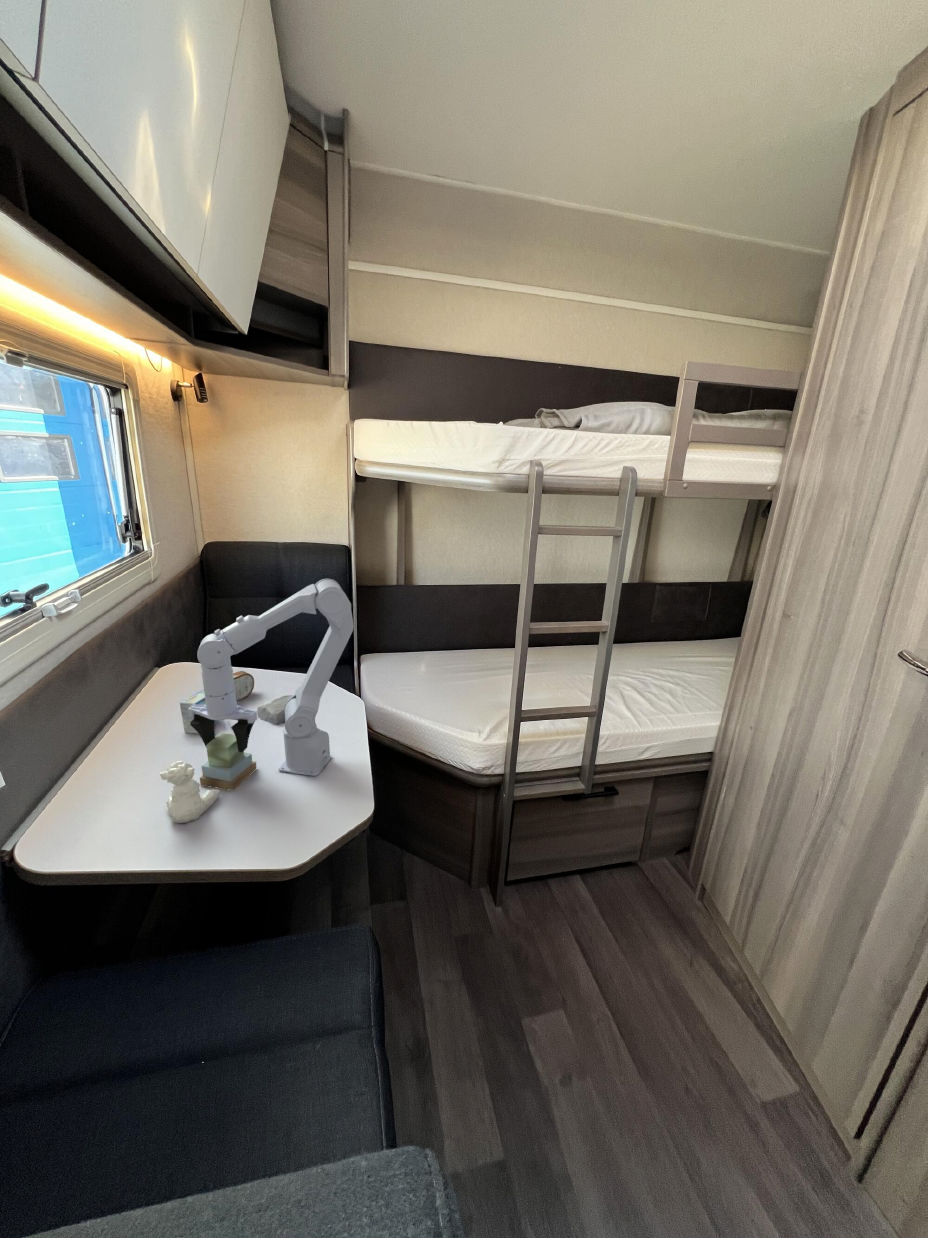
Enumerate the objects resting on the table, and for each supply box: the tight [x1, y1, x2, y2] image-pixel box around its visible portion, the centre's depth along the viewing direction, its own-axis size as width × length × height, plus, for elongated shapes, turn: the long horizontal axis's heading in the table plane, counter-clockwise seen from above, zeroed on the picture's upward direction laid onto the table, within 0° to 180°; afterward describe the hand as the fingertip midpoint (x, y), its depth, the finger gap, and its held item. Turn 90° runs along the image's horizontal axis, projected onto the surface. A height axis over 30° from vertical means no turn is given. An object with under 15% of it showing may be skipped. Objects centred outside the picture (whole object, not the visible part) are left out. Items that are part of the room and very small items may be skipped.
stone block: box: [256, 694, 294, 726], centre depth 131 cm, size 12×5×10 cm
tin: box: [233, 670, 255, 703], centre depth 136 cm, size 15×3×8 cm, turn 154°
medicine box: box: [179, 689, 219, 735], centre depth 122 cm, size 8×4×9 cm, turn 168°
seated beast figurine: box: [159, 760, 221, 824], centre depth 90 cm, size 10×9×12 cm
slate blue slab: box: [201, 751, 253, 782], centre depth 102 cm, size 7×7×2 cm
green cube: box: [205, 732, 245, 768], centre depth 101 cm, size 5×5×5 cm
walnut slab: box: [199, 760, 257, 791], centre depth 103 cm, size 8×8×2 cm
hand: (226, 748), depth 101 cm, fingers open, 7 cm apart
